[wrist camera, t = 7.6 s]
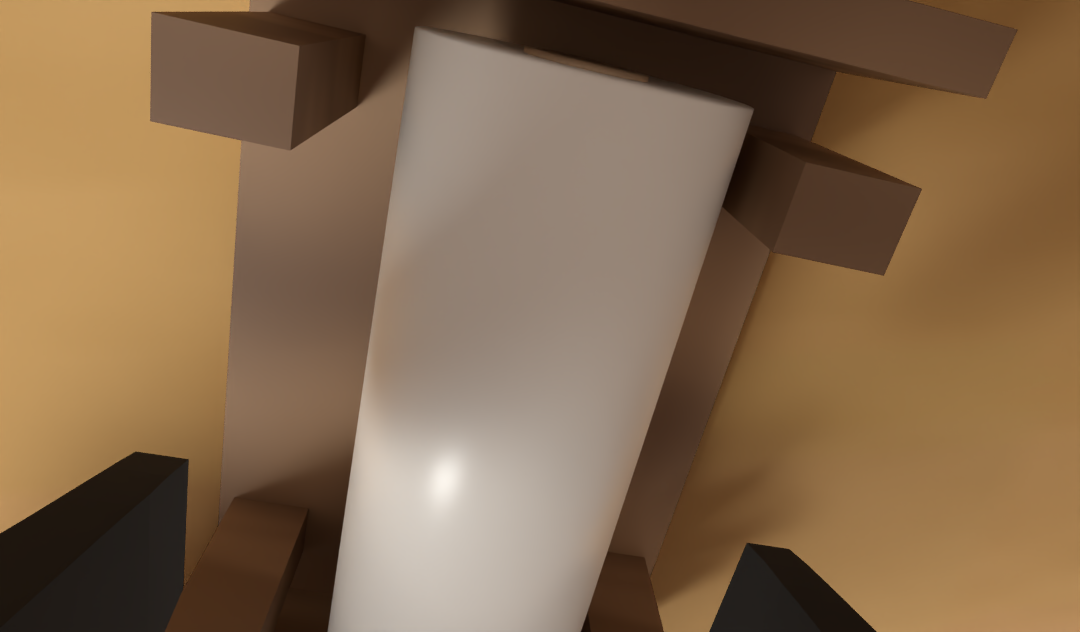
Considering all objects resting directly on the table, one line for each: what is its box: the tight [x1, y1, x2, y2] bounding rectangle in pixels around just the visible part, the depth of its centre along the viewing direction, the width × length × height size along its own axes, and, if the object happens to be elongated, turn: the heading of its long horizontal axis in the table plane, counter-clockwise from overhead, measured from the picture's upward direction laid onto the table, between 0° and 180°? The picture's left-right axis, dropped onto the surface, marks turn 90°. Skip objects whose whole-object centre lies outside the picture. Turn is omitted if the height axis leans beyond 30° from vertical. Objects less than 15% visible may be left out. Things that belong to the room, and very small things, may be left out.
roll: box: [328, 26, 754, 632], centre depth 12 cm, size 12×5×5 cm, turn 167°
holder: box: [150, 0, 1017, 632], centre depth 13 cm, size 15×10×5 cm, turn 167°
